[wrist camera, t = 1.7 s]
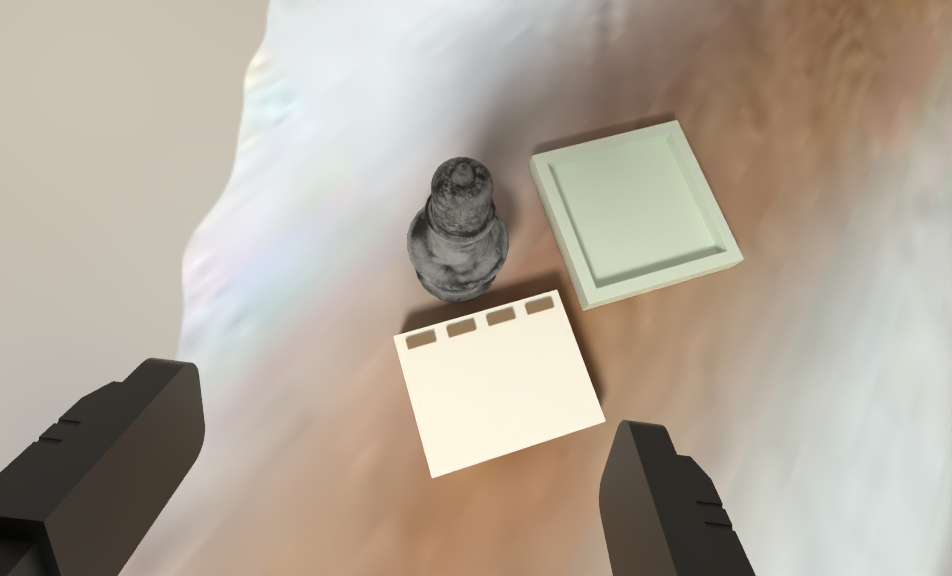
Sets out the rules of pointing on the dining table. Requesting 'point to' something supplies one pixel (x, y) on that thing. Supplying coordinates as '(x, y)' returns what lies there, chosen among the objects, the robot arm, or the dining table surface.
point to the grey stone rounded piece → (458, 233)
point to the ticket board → (496, 382)
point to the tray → (632, 214)
